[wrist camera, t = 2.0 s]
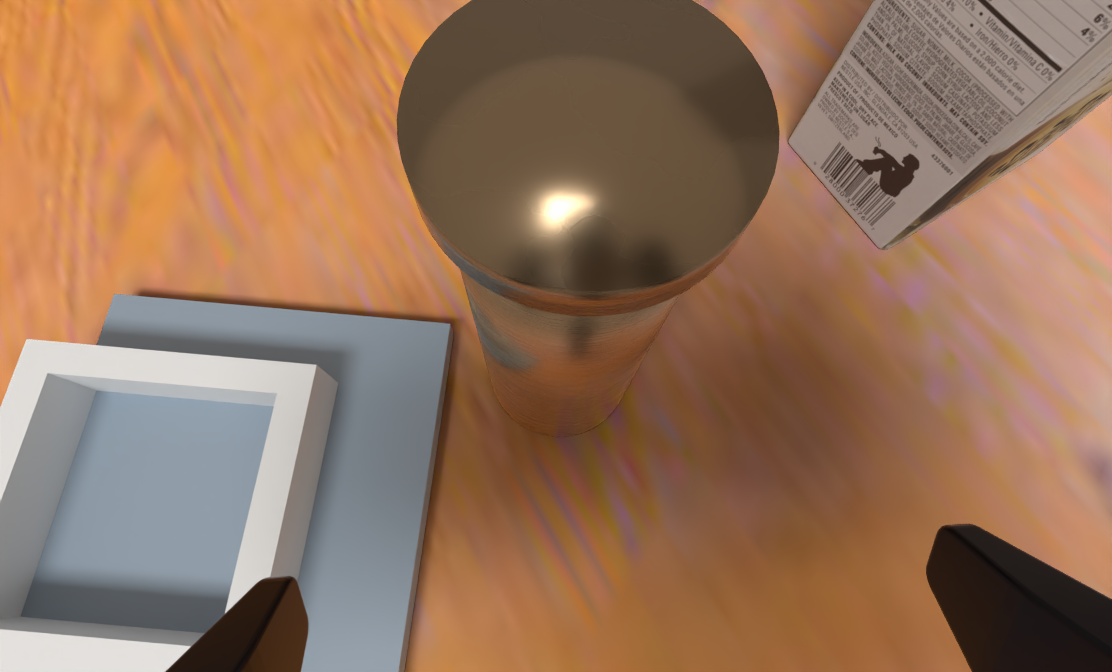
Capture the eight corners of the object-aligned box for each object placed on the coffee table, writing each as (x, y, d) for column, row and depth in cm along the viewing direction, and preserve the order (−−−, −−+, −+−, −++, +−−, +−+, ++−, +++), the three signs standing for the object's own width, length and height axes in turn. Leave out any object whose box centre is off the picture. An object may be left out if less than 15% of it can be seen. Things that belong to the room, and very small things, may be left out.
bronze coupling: (634, 455, 22) (787, 308, 8) (470, 440, 22) (364, 270, 8) (641, 302, 24) (773, -13, 10) (489, 288, 24) (428, -44, 10)
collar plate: (376, 858, 18) (343, 921, 15) (-57, 818, 18) (-179, 874, 15) (453, 332, 23) (441, 299, 20) (118, 303, 23) (54, 265, 20)
